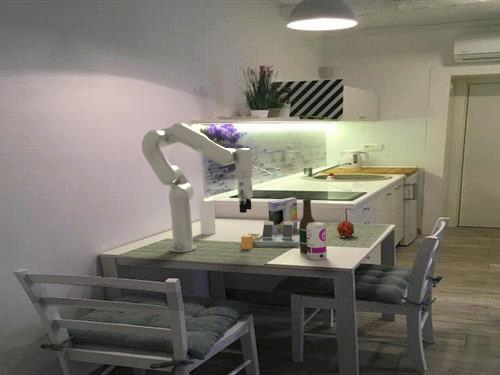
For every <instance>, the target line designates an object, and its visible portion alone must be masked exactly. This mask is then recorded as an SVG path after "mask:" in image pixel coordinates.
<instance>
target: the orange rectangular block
mask: <svg viewBox="0 0 500 375" xmlns="http://www.w3.org/2000/svg"><path fill="white" fill-rule="evenodd" d="M241 243H242V246H241V250H252V249H253V235H246V234H243V235H241V238H240V244H241Z"/></svg>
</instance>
